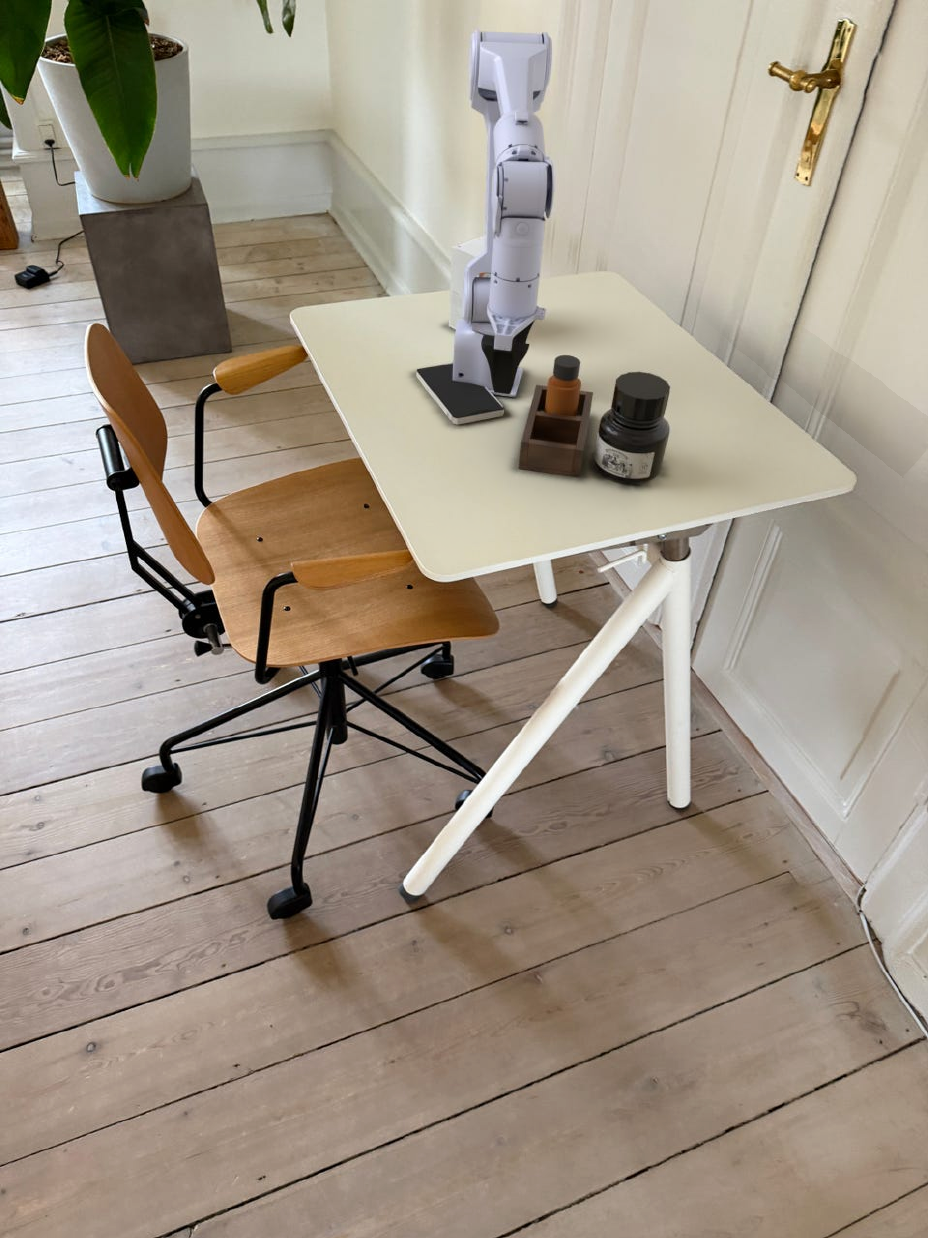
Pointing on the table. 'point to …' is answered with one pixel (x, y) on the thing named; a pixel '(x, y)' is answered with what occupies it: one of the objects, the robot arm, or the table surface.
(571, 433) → the holder
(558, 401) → the spice bottle
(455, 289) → the small box
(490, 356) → the robot arm
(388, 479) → the table surface
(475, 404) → the smartphone
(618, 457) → the ink bottle
